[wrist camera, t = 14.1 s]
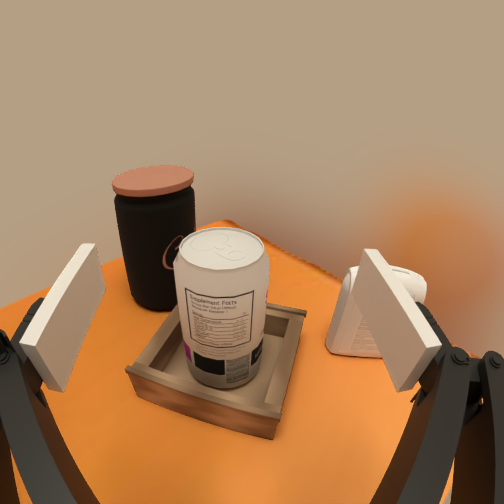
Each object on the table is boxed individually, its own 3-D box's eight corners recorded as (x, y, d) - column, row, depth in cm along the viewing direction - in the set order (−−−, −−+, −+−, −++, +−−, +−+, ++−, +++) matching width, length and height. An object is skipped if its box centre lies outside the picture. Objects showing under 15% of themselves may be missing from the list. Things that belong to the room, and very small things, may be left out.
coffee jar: (177, 322, 39) (163, 193, 30) (118, 301, 42) (94, 185, 33) (211, 280, 48) (208, 168, 39) (155, 265, 51) (145, 163, 42)
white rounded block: (394, 337, 38) (425, 263, 31) (400, 360, 34) (437, 284, 28) (324, 332, 39) (344, 252, 33) (325, 356, 35) (348, 274, 29)
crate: (136, 395, 29) (124, 369, 26) (190, 313, 41) (187, 284, 39) (274, 440, 25) (280, 419, 23) (300, 338, 38) (307, 310, 35)
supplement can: (172, 360, 32) (152, 244, 25) (225, 327, 38) (224, 216, 30) (222, 405, 28) (217, 289, 20) (274, 362, 33) (291, 246, 25)
